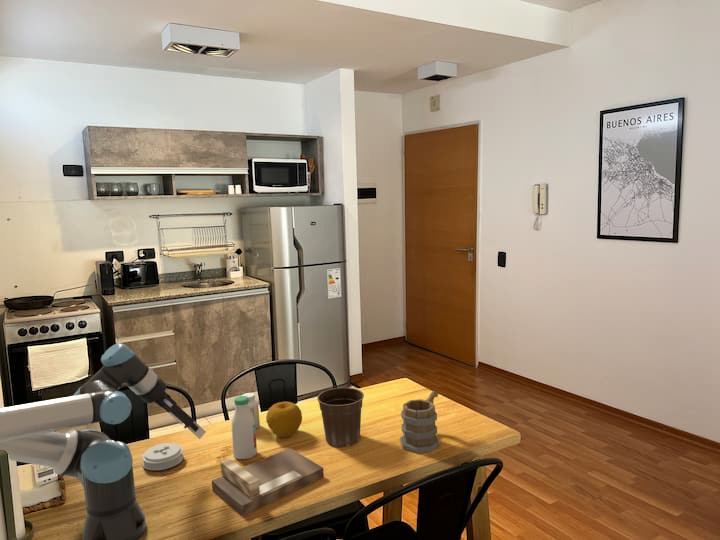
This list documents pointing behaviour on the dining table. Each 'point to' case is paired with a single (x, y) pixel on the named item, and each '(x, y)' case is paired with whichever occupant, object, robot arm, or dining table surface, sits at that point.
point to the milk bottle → (243, 430)
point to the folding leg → (240, 477)
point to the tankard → (419, 425)
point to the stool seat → (270, 480)
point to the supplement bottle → (253, 408)
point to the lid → (162, 456)
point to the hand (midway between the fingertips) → (193, 427)
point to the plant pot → (341, 415)
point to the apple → (284, 419)
